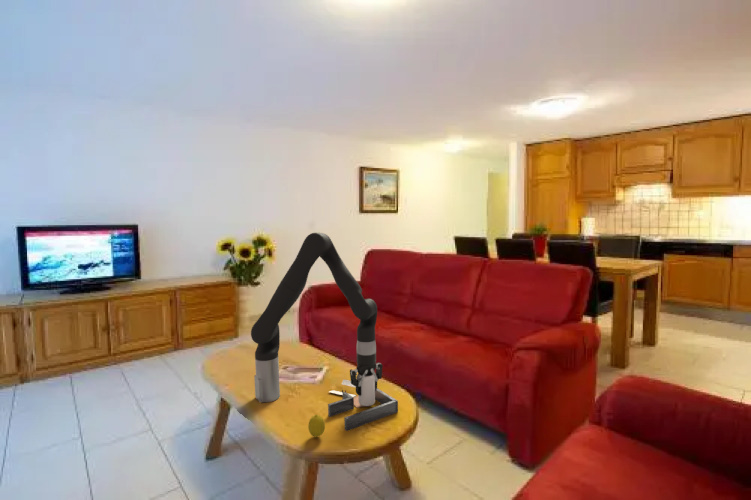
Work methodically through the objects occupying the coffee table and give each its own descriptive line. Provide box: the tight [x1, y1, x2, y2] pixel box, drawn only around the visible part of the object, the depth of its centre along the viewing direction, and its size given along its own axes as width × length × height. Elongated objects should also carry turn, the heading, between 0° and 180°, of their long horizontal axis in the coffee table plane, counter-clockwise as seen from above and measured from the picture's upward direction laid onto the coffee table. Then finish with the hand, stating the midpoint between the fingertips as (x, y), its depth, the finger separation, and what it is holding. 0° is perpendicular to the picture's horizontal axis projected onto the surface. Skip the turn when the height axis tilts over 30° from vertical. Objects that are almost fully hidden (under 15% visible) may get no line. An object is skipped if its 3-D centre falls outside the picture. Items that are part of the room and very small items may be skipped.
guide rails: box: [327, 387, 399, 432], centre depth 154 cm, size 23×19×4 cm
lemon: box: [307, 414, 326, 438], centre depth 137 cm, size 6×6×8 cm
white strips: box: [328, 379, 357, 398], centre depth 173 cm, size 12×12×2 cm
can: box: [357, 373, 376, 407], centre depth 157 cm, size 6×6×12 cm
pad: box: [353, 396, 364, 409], centre depth 162 cm, size 8×8×1 cm
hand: (366, 392), depth 157 cm, fingers closed on can, 6 cm apart
